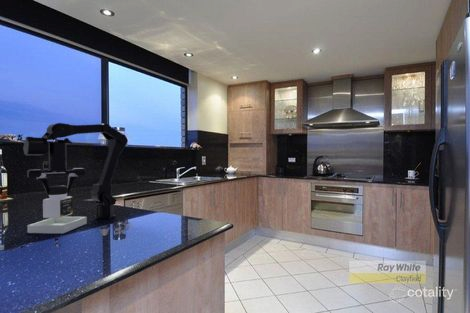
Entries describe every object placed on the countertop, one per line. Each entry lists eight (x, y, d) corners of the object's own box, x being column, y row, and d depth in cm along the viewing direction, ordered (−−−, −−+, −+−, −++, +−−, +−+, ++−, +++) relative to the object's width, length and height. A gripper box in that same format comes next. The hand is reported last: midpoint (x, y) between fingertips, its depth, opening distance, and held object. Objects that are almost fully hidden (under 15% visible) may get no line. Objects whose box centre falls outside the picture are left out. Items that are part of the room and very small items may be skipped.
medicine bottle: (60, 218, 99) (60, 186, 99) (42, 218, 99) (42, 186, 99) (73, 213, 106) (72, 184, 106) (56, 213, 106) (55, 184, 106)
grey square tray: (86, 223, 107) (86, 216, 107) (63, 233, 94) (63, 225, 94) (55, 223, 108) (55, 216, 108) (27, 232, 95) (27, 225, 95)
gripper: (80, 155, 114) (81, 190, 115) (26, 155, 102) (27, 194, 102) (86, 154, 106) (86, 192, 106) (27, 155, 94) (28, 198, 94)
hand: (58, 194), depth 102 cm, fingers closed on medicine bottle, 6 cm apart
